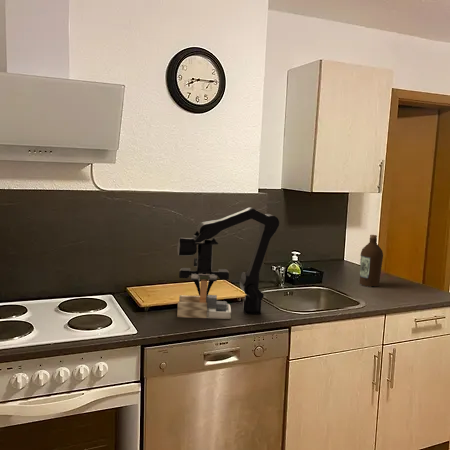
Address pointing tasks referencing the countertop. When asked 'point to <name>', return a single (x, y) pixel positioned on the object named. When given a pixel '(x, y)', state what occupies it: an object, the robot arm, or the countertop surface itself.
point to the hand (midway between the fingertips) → (203, 295)
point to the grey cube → (211, 301)
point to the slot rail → (191, 307)
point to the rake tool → (203, 291)
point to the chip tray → (219, 313)
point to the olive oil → (371, 263)
